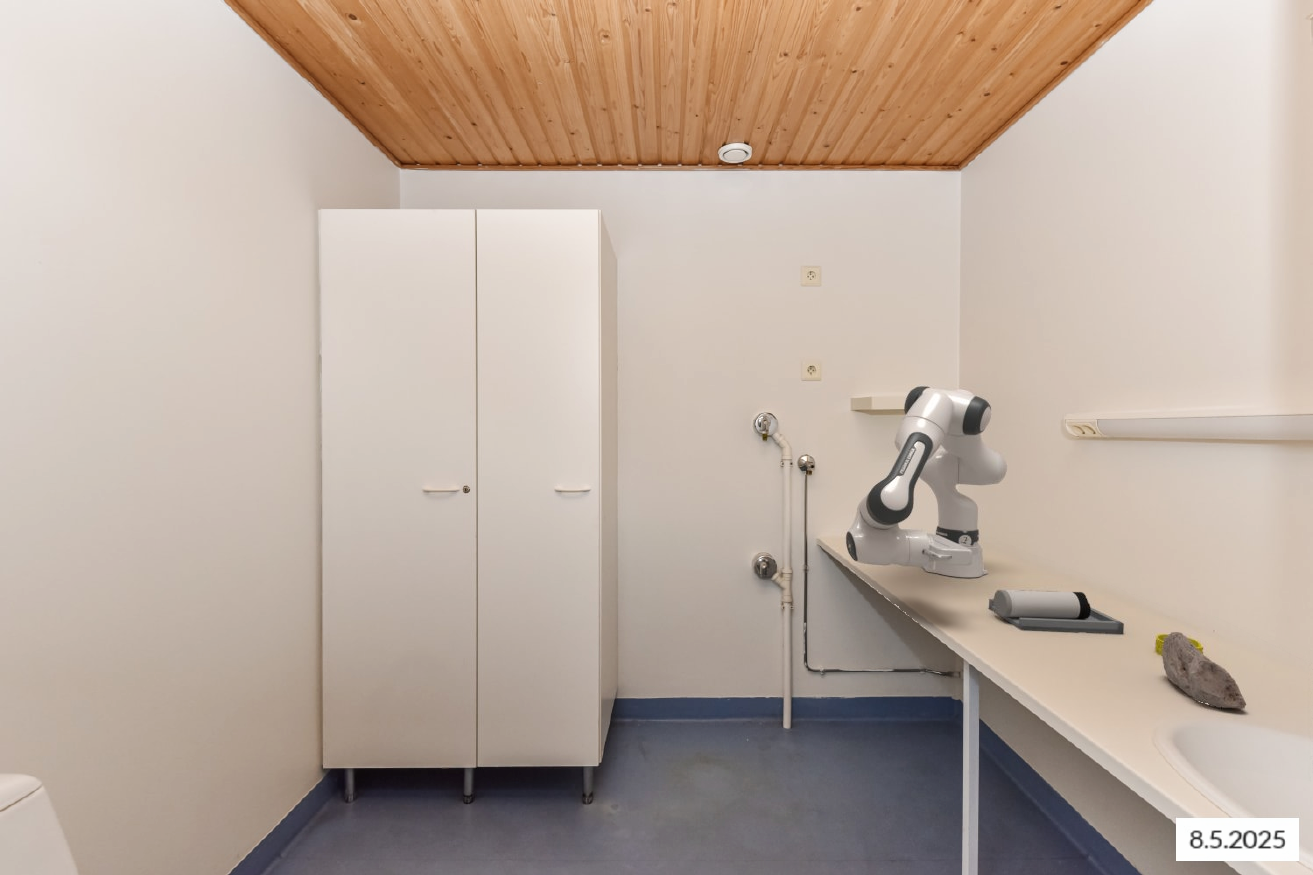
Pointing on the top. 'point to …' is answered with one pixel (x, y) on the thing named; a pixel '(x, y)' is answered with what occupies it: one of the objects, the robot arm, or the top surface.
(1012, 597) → the travel mug
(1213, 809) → the top surface
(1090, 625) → the slate tray
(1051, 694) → the top surface
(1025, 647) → the top surface
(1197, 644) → the bracelet
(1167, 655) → the pumice stone
